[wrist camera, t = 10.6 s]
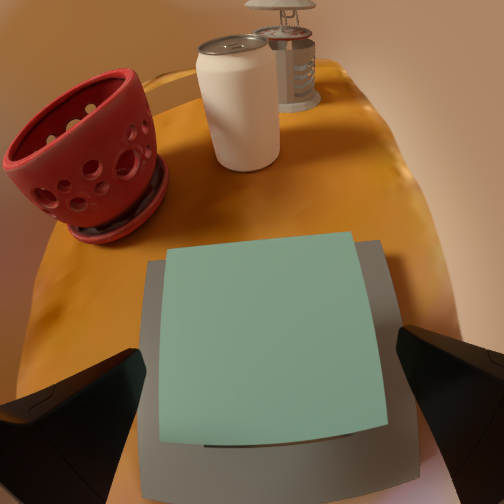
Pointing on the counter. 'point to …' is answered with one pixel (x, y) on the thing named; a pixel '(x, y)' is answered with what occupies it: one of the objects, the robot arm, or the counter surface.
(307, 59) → the french press
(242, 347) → the plug block
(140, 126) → the plant pot
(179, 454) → the socket plate
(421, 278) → the counter surface
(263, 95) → the can
